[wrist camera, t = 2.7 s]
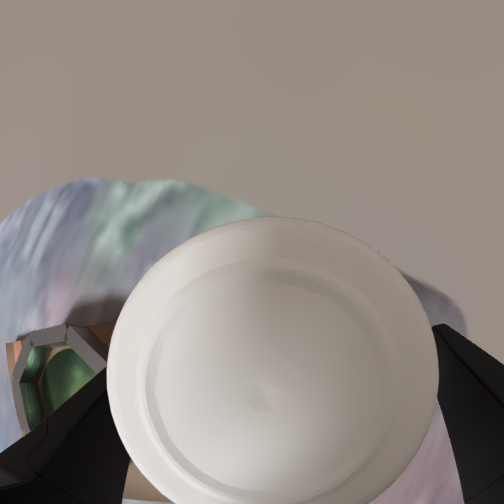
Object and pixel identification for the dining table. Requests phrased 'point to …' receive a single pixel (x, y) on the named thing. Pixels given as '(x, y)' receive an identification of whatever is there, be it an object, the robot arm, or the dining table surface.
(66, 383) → the ring
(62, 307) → the dining table surface
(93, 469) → the robot arm
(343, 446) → the sprinkles bottle
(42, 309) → the dining table surface
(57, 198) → the dining table surface
